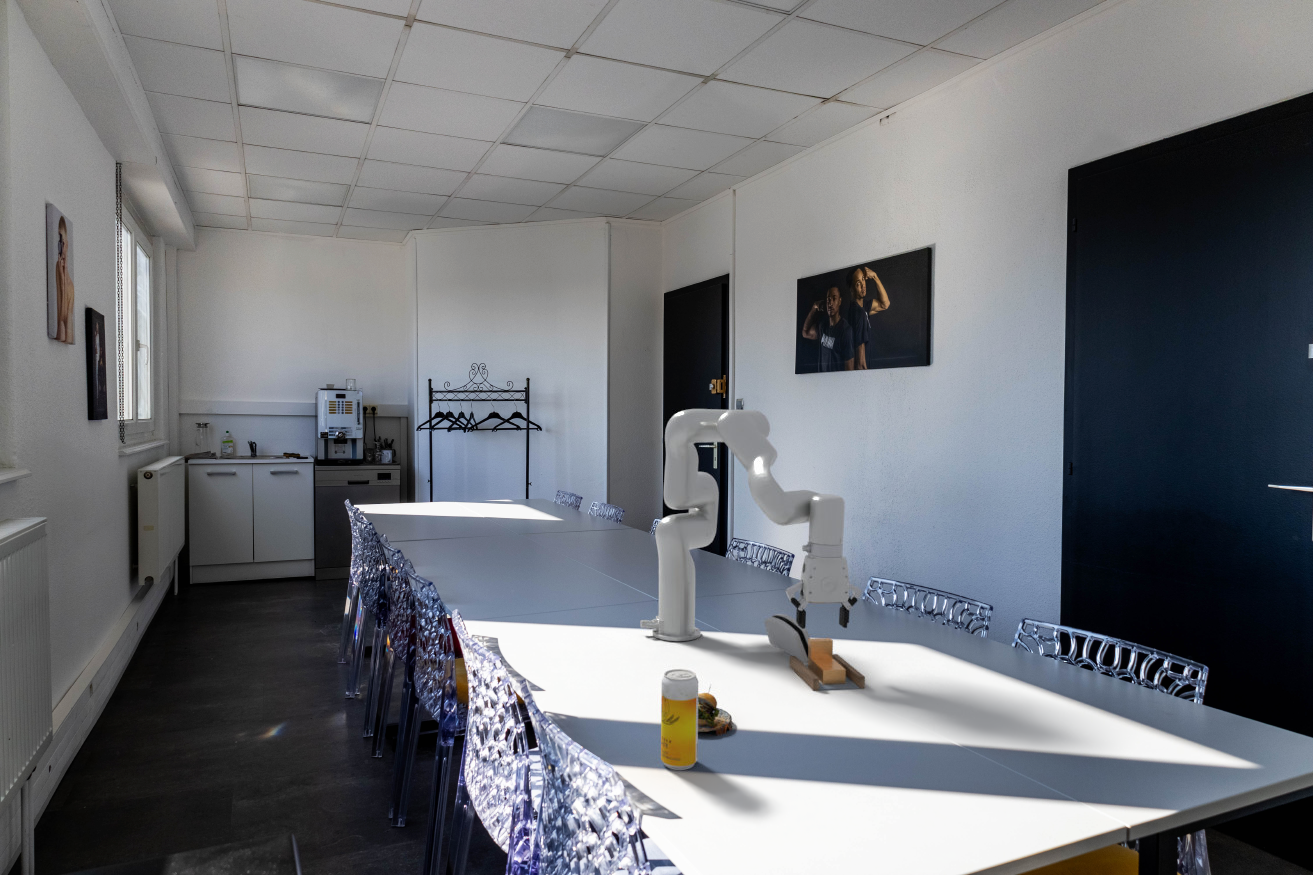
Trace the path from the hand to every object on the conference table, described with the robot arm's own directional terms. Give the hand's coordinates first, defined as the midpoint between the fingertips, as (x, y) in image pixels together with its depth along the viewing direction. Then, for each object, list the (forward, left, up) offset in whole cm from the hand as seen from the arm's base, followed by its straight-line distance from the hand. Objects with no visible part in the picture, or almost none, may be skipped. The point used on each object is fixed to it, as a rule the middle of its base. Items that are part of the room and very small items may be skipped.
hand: (822, 626), depth 180 cm
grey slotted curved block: (-1, +18, -11) cm, 21 cm away
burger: (-33, -25, -11) cm, 42 cm away
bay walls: (0, -2, -11) cm, 11 cm away
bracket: (0, -2, -11) cm, 11 cm away
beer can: (-40, -41, -11) cm, 58 cm away
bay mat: (0, -2, -11) cm, 11 cm away
